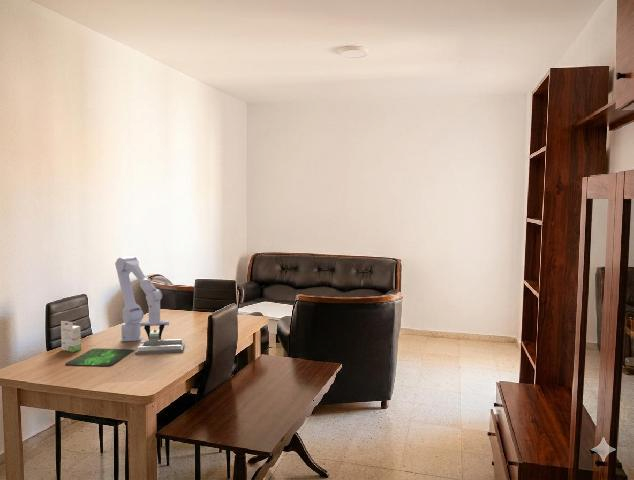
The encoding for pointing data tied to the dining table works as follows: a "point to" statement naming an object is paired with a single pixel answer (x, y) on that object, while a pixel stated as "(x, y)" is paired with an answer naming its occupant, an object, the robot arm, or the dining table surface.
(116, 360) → the mouse mat
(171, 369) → the dining table surface
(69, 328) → the ink box
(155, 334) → the module
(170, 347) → the rail
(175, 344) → the mounting board
